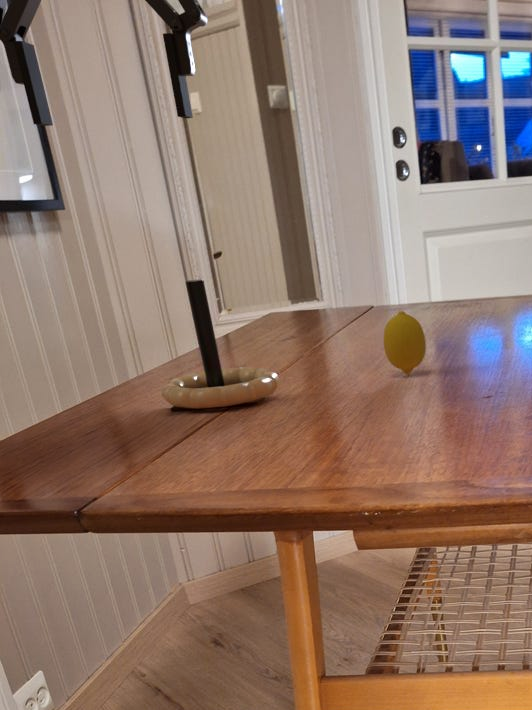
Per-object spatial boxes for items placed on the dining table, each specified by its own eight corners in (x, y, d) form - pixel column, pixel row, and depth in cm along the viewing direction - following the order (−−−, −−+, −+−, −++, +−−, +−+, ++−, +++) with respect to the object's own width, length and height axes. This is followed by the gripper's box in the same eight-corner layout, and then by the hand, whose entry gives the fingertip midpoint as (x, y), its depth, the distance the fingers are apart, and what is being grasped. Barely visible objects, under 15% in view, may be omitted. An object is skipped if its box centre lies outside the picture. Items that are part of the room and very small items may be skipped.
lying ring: (151, 413, 98) (146, 394, 97) (183, 388, 110) (179, 370, 109) (268, 405, 98) (265, 385, 97) (288, 380, 110) (285, 362, 109)
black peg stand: (173, 420, 101) (142, 287, 94) (194, 403, 109) (167, 279, 102) (249, 415, 101) (224, 281, 94) (265, 398, 109) (242, 273, 102)
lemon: (429, 368, 118) (423, 306, 115) (427, 377, 113) (421, 312, 110) (389, 371, 119) (382, 309, 115) (385, 380, 114) (377, 315, 110)
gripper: (211, -163, 77) (252, 116, 87) (-72, -149, 76) (1, 130, 86) (188, -196, 70) (236, 111, 80) (-121, -180, 70) (-35, 125, 80)
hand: (114, 121), depth 83 cm, fingers open, 13 cm apart
